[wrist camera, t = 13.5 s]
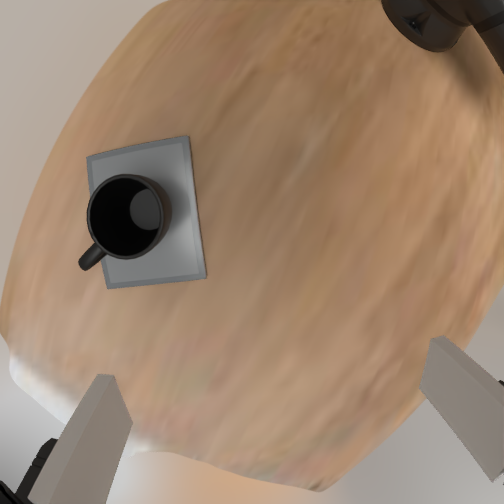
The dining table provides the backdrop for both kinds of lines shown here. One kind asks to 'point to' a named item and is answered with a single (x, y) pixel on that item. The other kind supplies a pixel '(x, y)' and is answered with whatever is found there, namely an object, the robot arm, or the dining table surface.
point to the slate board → (183, 213)
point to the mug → (126, 218)
